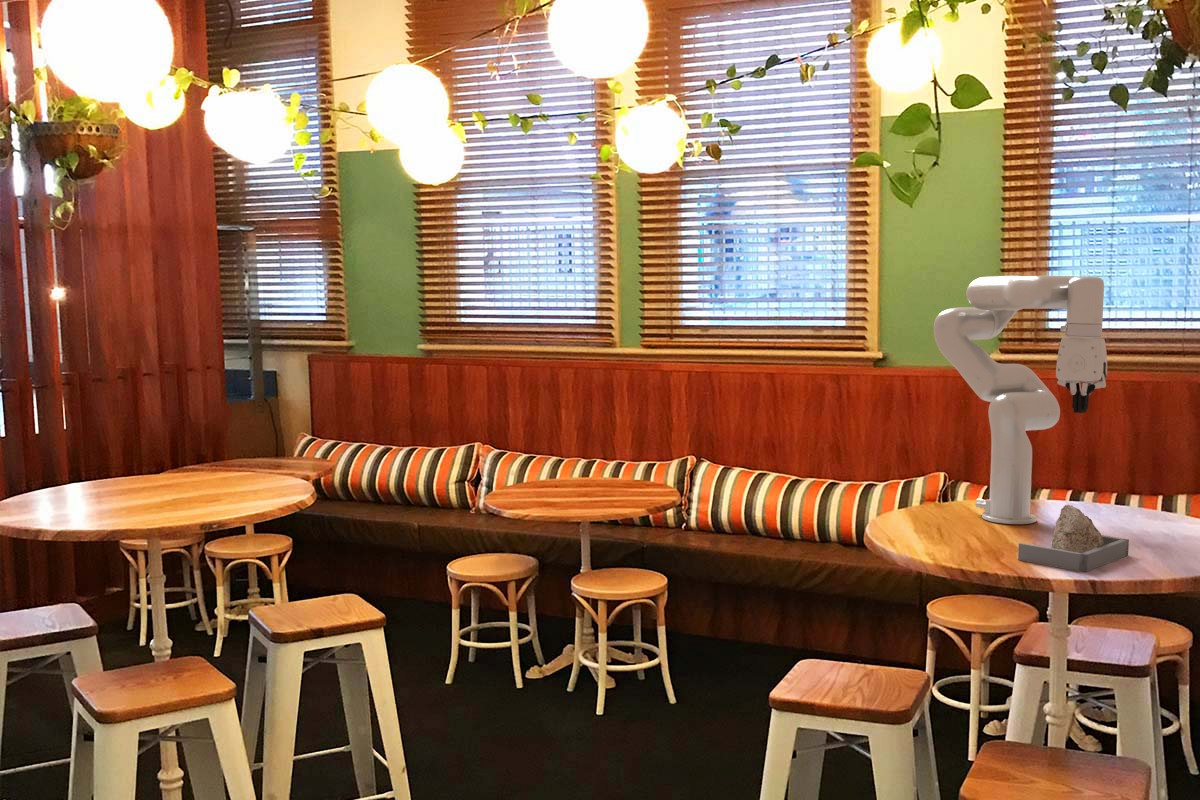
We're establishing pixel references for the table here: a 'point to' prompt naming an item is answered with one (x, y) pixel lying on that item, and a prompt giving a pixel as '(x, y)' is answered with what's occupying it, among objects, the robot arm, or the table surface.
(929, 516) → the table surface
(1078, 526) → the rock
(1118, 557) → the frame
